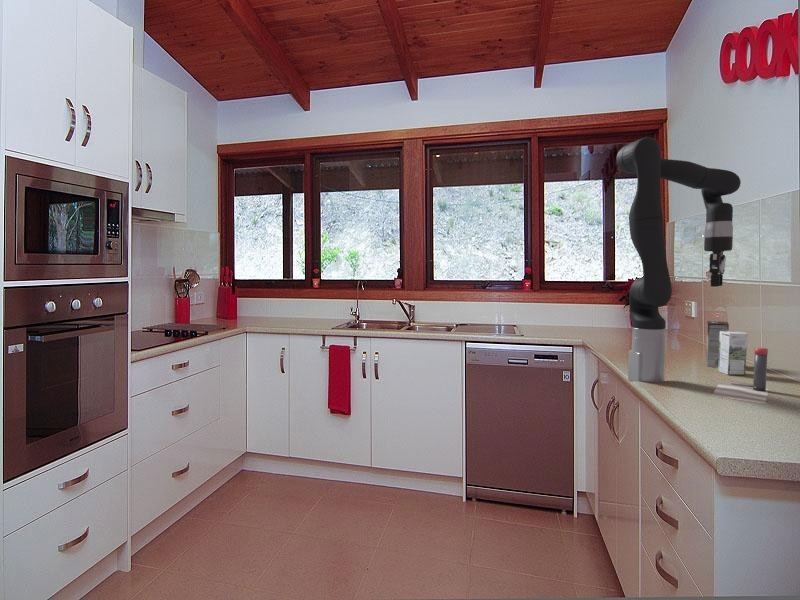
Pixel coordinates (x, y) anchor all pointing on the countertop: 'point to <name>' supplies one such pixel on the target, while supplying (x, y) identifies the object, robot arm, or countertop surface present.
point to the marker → (760, 369)
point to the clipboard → (740, 392)
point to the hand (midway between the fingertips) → (716, 286)
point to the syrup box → (732, 352)
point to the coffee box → (714, 341)
